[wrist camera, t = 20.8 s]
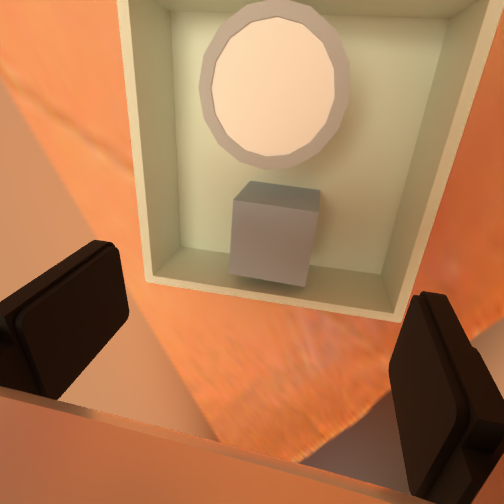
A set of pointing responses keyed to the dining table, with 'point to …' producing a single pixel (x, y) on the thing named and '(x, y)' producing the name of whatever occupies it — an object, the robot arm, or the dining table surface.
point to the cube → (273, 232)
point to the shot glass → (274, 84)
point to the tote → (317, 167)
